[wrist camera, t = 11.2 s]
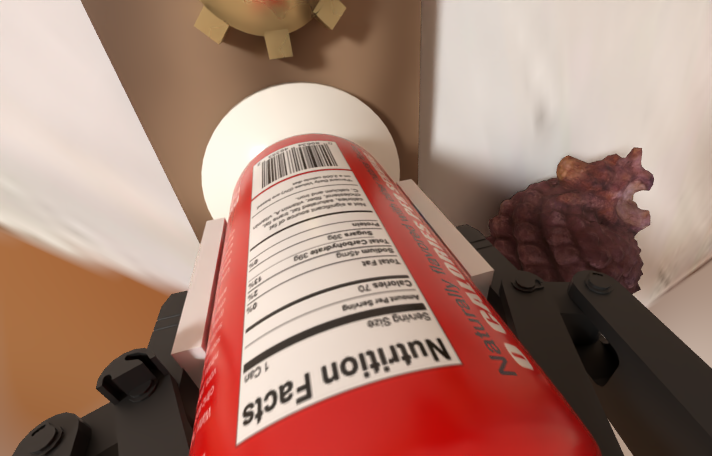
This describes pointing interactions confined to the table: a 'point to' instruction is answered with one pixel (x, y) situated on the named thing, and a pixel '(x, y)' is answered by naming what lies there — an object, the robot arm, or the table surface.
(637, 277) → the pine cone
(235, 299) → the soda can
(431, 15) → the table surface
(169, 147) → the gear board
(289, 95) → the ceramic plate
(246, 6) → the brass gear
